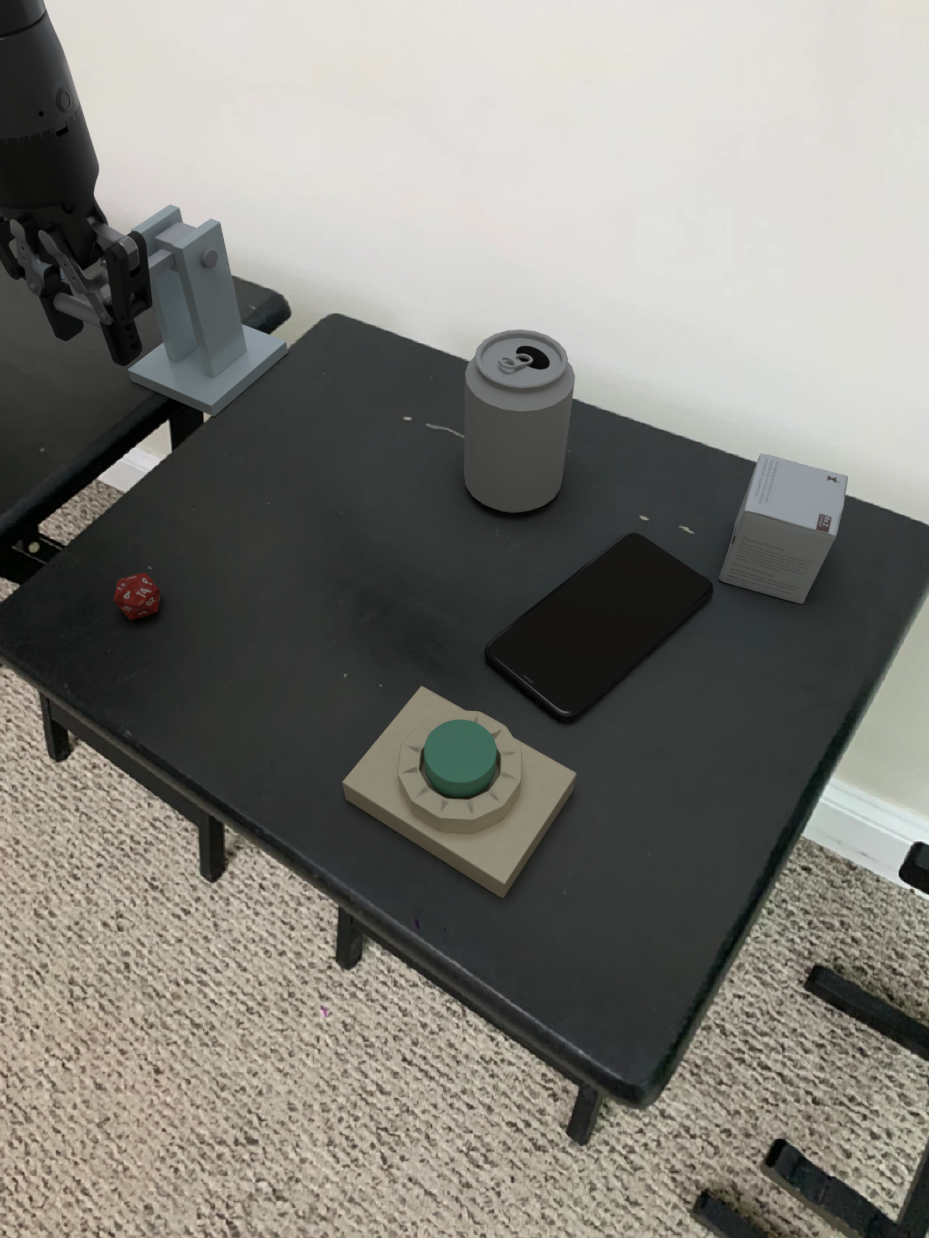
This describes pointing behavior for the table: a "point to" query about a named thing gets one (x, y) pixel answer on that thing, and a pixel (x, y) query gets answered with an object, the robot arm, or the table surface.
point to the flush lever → (156, 267)
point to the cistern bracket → (200, 323)
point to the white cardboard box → (784, 528)
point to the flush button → (460, 758)
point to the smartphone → (598, 624)
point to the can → (516, 420)
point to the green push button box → (461, 826)
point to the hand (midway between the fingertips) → (99, 346)
